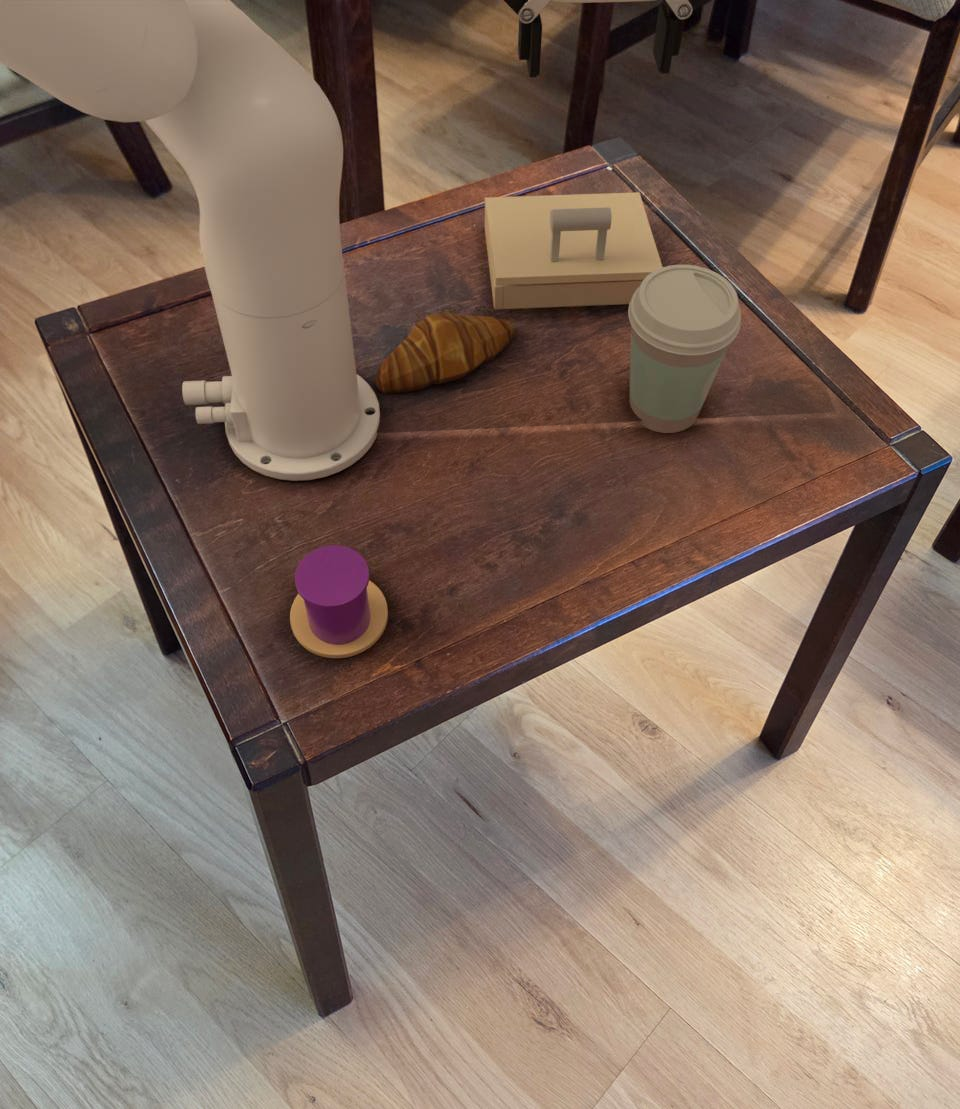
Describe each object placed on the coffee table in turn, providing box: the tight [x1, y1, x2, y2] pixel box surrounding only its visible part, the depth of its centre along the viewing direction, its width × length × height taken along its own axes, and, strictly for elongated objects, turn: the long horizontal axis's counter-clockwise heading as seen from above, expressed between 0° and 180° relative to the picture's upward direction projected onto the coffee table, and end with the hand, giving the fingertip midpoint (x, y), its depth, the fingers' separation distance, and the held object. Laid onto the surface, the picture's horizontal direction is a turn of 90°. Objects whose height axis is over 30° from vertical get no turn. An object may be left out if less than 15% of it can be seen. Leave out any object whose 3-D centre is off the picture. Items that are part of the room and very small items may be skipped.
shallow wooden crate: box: [484, 208, 643, 310], centre depth 97 cm, size 12×15×3 cm
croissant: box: [373, 311, 516, 395], centre depth 89 cm, size 14×7×5 cm, turn 122°
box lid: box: [484, 191, 663, 285], centre depth 93 cm, size 12×15×6 cm
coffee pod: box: [294, 544, 370, 645], centre depth 73 cm, size 5×5×6 cm
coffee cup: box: [627, 264, 742, 434], centre depth 84 cm, size 9×8×12 cm
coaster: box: [289, 580, 389, 659], centre depth 76 cm, size 7×7×1 cm
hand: (596, 65), depth 78 cm, fingers open, 9 cm apart
